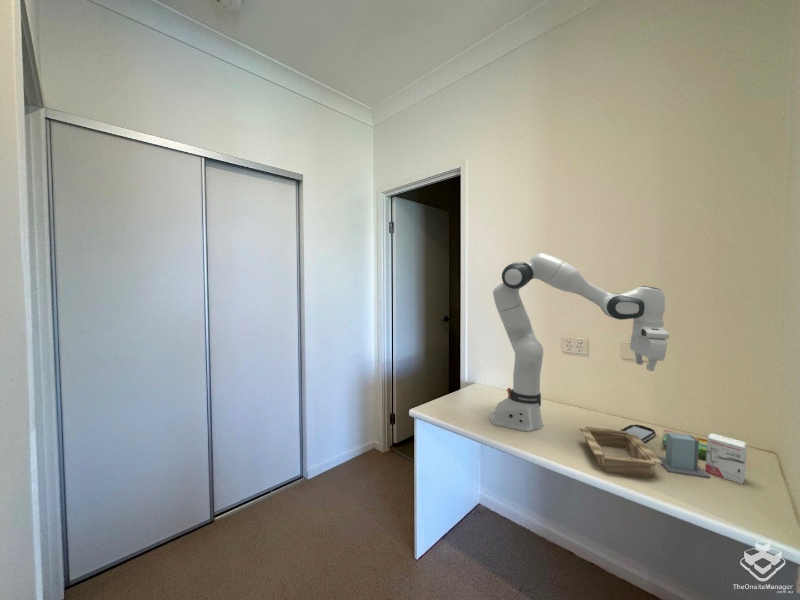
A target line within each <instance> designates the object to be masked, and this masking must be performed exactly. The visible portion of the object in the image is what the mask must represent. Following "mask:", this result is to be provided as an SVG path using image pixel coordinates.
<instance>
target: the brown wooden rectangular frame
mask: <svg viewBox="0 0 800 600" xmlns="http://www.w3.org/2000/svg"><path fill="white" fill-rule="evenodd" d="M579 431H580V432H581V434H582V435H583V438H584V439H585V441H586V444H587V446H588V447H589V450H590V451H591V453H592V454H593V457H594V458H595V460H596V461H597V464H598V465H599V467H600V466H601V467H600V468H601V471H603V470H605V471H604V472H610V471H611V473H616V472H617V474H623V473H626V474H625V475H629V474H630V476H635V477H636V476H637V477H638V476H639V477H643V478H650V479H652V477H653V467H656V464H660V465H661V464H662V462H661V461H660V460H659V459H658V458H657V457H658V456H657V455H655V454H654V452H653V451H652V450H651V449H650V448H649V447H648V446H647V445H646V444H645V442H644V443H643V442H642V441H641V440H640V439H639V438H638V437H637V435H635V434H628V433H627V432H626V431H620V430H617V429H608V428H603V427H602V428H599V427H592V426H585V428H584V427H580V428H579ZM603 446H604V447H610V448H618V449H624V450H626V451H627V453H628V454H629V455H630V456H631V457H627V456H619V455H612V454H605V452H604V451H603V449H602V448H601V447H603Z"/></svg>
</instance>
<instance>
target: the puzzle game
mask: <svg viewBox="0 0 800 600" xmlns="http://www.w3.org/2000/svg"><path fill="white" fill-rule="evenodd" d="M667 433H675V434H684V435H690V434H688V433H686V434H685V433H681V432H678V431H673V430H669V429H664V430H663V437H662V445H663V446H664V448H665V449H666V436H667ZM692 436H693V437H694V438H696V439H697V440H698V441H699V447H698V457H699V458H698V459H702V458H703V459H702V460H705V459H706V453H707V438H702V437H699V436H694V435H692Z"/></svg>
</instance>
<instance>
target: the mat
mask: <svg viewBox="0 0 800 600" xmlns="http://www.w3.org/2000/svg"><path fill="white" fill-rule="evenodd" d="M656 457H657V458H658V459H659V460H660V461H661V462H662V464H660V465H661V466H662V467H663V468H664V469H665V470H666V471H667V472H668V473H671V474H676V475H677V474H678V475H686V476H691V477H692V476H693V477H698V478H704V479H705V478H706V479H711V476H710V475H709V473H708V472H706V470H704V469H702V468H701V467H700V466H699V465H698V471H695V470H688V469H680V468H673V467H671V466H670V465H669V464H668V463H667V462H666V457H663V456H656Z"/></svg>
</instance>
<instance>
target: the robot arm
mask: <svg viewBox="0 0 800 600" xmlns="http://www.w3.org/2000/svg"><path fill="white" fill-rule="evenodd" d="M501 280H502V283H500V284H498V285H497V286H495V288H494V289H493V292H492V293H493V301H494V304H495V307H496V310H497V312H498V314H499V317H500V319H501V322H502V325H503V327H504V329H505V332H506V335H507V338H508V339H509V342H510V345H511V347H512V350H513V352H514V366H513V373H512V374H513V377H512V378H513V381H512V388H511V387H507V389H506V392H507V396H508V397H507V398H505V399H503V400H501V401H499V402H498V403H497V404H496V407H495V408H494V411H492V412H491V413H490V414H489V421H490V422H491V424H493V425H494V426H498V427H502V428H508V429H513V430H519V431H523V432H528V433H529V432H532V431H534V430H540V429H542V428H543V426H544V423H543V418H542V413H541V405H542V395H541V373H542V368H543V367H542V365H543V357H544V347H543V345H542V344H541V342H539V340H538V339H537V338H536V335H535V332H534V329H533V326H532V323H531V321H530V320H531V319H530V318H529V315H528V312H527V310H526V308H525V306H524V304H523V301H522V297H521V295H520V289H522V288H523V287H525V286H527V285H528V284H529V283H530V281H532V280H540V281H541V282H544V283H545V284H547V285H549V286H551V287H552V288H554V289H556V290H560V291H563V292H566V293H572V294H576V295H579V296H581V297H582V298H584V299H586V300H588V301H589V302H592V303H594V304H595V305H597V306H598V307H599V308H600V309H601V310H602V312H603V313H604V315H606V316H608V317H609V318H612V319H615V320H620V321H623V320H630V319H633V320H632V322H633V323H632V333H631V336H630V341H629V342H630V343H629V349H630V351H633V352H634V357H635V364H637V365H639V366H640V365H641V366H643V364H644V360H643V357H645V358H648V359H647V361H648V363H647V365H646V371H647V370H648V371H650V372H654V371H655V366H656V365H657V363H658V361H660V362H661V361H664V359H665V358H666V352H667V345H668V341H667V340H669V338H670V334H669V332H668V331H667V330H666V328H665V326H664V320H663V318H664V314H665V311H666V310H665V309H666V296H665V292H664V291H663V290H662V289H660V288H657V287H652V286H647V285H640V286H638V287H637V288H634V289H632V290H630V291H626V292H623V293H615V292H609V291H606V290H604V289H602V288H600V287H599V286H597V285H595V284H593V283H591V282H589V281H588V280H587V279H586V278H585V277H584V276H583V275H582V273H581V272H580V271H579V270H578V269H577V268H576V267H574V266H573V265H572V264H570V263H569V262H566V261H564V260H562V259H561V258H558V257H555V256H554V255H551V254H547V253H544V252H540V253H536V254H535V255H534V256H532V257H531V259H530V260H529V261H528V262H525V261H515V262H512V263H510V264H508V265H506V266H505V268H504V269H503V270H502V273H501Z"/></svg>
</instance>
